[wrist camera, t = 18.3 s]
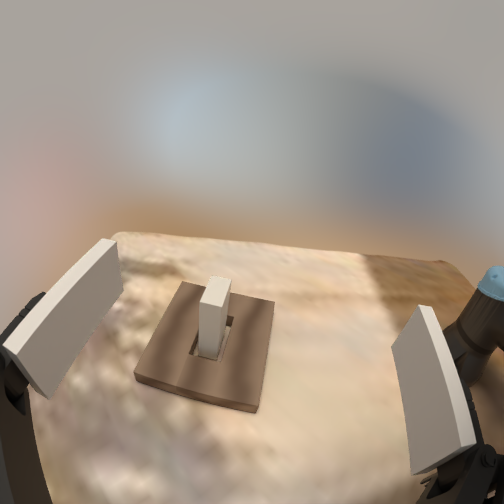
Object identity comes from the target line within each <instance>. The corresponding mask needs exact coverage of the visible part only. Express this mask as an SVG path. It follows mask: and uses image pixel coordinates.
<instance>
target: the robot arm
mask: <svg viewBox="0 0 504 504" xmlns="http://www.w3.org/2000/svg"><path fill="white" fill-rule="evenodd" d="M123 291H124V290H123V284H122V278H121V272H120V265H119V258H118V250H117V242H116V241H112V240H107V239H104V238H103V239H101V240H100V241H99V242H98V243H97V244H96V245H95V246H94V247H93V248H92V249H91V250H89V251H88V252H87V253H86V254H85V255H84V256H83V257H82V258H81V259H80V260H79V261H78V262H77V263H76V264H75V265H74V266H73V267H72V268H71V269H70V270H69V271H68V272H67V273H66V274H65V275H64V276H63V277H62V278H61V279H60V280H59V281H58V282H57V283H56V284H55V285H54V286H53V287H52V288H51V289H50V290H49V291H48V292H47V293H45V292H42V293H40V294H39V295H37V296H36V297H34V298H32V299H31V300H30V301H29V303H28V304H27V305H26V306H25V308H24V309H22V310H21V312H20V313H19V315H18V316H16V317H15V318H14V320H13V321H12V322H11V323H10V324H9V325H8V327H7V328H6V329H5V330H4V331H3V333H2V334H1V335H0V504H53V503H52V500H51V497H50V494H49V491H48V488H47V485H46V481H45V478H44V474H43V471H42V467H41V463H40V459H39V454H38V450H37V445H36V440H35V435H34V429H33V423H32V416H31V408H30V399H29V392H28V389H27V386H28V384H29V383H30V385H31V386H32V387H33V388H34V390H35V391H36V392H38V393H39V394H41V395H42V396H44V397H45V398H47V399H48V400H50V399H51V397H52V396H53V394H54V392H55V391H56V389H57V387H58V386H59V384H60V382H61V381H62V379H63V378H64V376H65V374H66V373H67V371H68V370H69V368H70V367H71V365H72V363H73V362H74V360H75V359H76V357H77V356H78V354H79V353H80V351H81V350H82V348H83V347H84V345H85V344H86V342H87V341H88V339H89V338H90V337H91V335H92V334H93V332H94V331H95V329H96V328H97V327H98V325H99V324H100V322H101V321H102V319H103V318H104V317H105V315H106V314H107V312H108V311H109V310H110V308H111V307H112V306H113V304H114V303H115V302H116V300H117V299H118V298H119V296H120V295H121V294H122V292H123ZM497 347H499V348H500V349H501V350H503V351H504V267H503V266H493V267H491V268H489V269H488V271H487V272H486V274H485V276H484V277H483V279H482V280H481V281H480V282H479V284H478V288H477V289H476V291H475V293H474V294H473V296H472V297H471V299H470V300H469V302H468V304H467V305H466V307H465V308H464V310H463V311H462V313H461V314H460V316H459V317H458V319H457V320H456V321H455V322H454V323H452V324H451V325H449V326H448V327H447V328H445V329H444V330H443V331H442V330H441V328H440V325H439V323H438V320H437V318H436V316H435V314H434V311H433V309H432V307H429V306H423V305H418V306H417V308H416V310H415V311H414V313H413V314H412V316H411V318H410V319H409V321H408V322H407V324H406V325H405V327H404V329H403V330H402V332H401V333H400V335H399V336H398V338H397V339H396V341H395V342H394V343H393V345H392V346H391V348H392V352H393V356H394V361H395V366H396V370H397V375H398V380H399V385H400V391H401V396H402V402H403V408H404V414H405V421H406V428H407V436H408V444H409V454H410V465H411V475H418V474H423V473H427V472H429V471H431V470H433V469H435V468H437V473H435V474H433V475H431V476H429V477H427V478H425V479H423V480H422V481H421V483H420V484H424V483H426V482H428V481H430V482H429V483H427V484H426V485H425V487H426V488H425V490H424V492H423V493H422V495H421V496H420V498H419V500H418V501H417V503H416V504H504V455H500V454H496V451H495V449H494V448H493V447H492V446H491V445H488V444H484V441H483V437H482V433H481V428H480V424H479V420H478V417H477V413H476V410H475V406H474V402H472V400H473V399H472V395H471V392H470V389H469V387H470V386H472V385H473V384H474V383H475V382H476V381H477V380H478V379H479V378H480V376H481V374H482V372H483V370H484V368H485V366H486V364H487V362H488V360H489V358H490V356H491V354H492V353H493V351H494V350H495V349H496V348H497ZM494 490H496V492H495V496H493V497H491V498H489V499H488V498H487V495H488V493H490V492H492V491H494Z"/></svg>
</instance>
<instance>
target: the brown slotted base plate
mask: <svg viewBox="0 0 504 504" xmlns="http://www.w3.org/2000/svg"><path fill="white" fill-rule="evenodd" d="M205 289H206V287H204V286H200V285H196V284H192V283H187V282H183V281H182V283H181V285H180V286H179V288H178V290H177V292H176V294H175V295H174V297H173V299H172V301H171V302H170V304H169V306H168V308H167V310H166V311H165V313H164V315H163V317H162V319H161V321H160V322H159V324H158V326H157V328H156V330H155V332H154V334H153V335H152V337H151V339H150V341H149V343H148V345H147V347H146V349H145V350H144V352H143V354H142V356H141V358H140V360H139V362H138V364H137V366H136V368H135V370H134V375H135V378H136V381H139V382H142V383H145V384H147V385H150V386H153V387H156V388H159V389H162V390H165V391H168V392H172V393H175V394H178V395H182V396H185V397H189V398H192V399H196V400H199V401H203V402H207V403H211V404H215V405H219V406H224V407H228V408H232V409H237V410H242V411H247V412H252V413H256V411H257V409H258V406H259V401H260V395H261V389H262V383H263V377H264V370H265V364H266V358H267V351H268V345H269V338H270V332H271V325H272V318H273V311H274V304H275V302H273V301H268V300H263V299H258V298H253V297H249V296H244V295H240V294H235V293H230V296H229V304H228V312H227V320H226V325H229V326H231V330H230V333H229V336H228V340H227V343H226V347H225V350H224V353H223V357H222V360H221V362H217V361H213V360H209V359H205V358H201V357H198V356H194V355H192V353H193V351H194V348H195V346H196V343H197V340H198V338H199V306H200V300H201V298H202V295H203V293H204V291H205Z"/></svg>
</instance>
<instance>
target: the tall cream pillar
mask: <svg viewBox="0 0 504 504" xmlns="http://www.w3.org/2000/svg"><path fill="white" fill-rule="evenodd" d="M231 281H232V280H231V279H227V278H222V277H218V276H213V275H212V276H211V278H210V280H209V282H208V284H207V287H206V289H205V291H204V293H203V295H202V298H201V300H200V306H199V343H198V356H202V357H206V358H209V359H214V360H217V357H218V354H219V351H220V347H221V344H222V341H223V338H224V334H225V328H226V320H227V312H228V304H229V296H230V289H231Z"/></svg>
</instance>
